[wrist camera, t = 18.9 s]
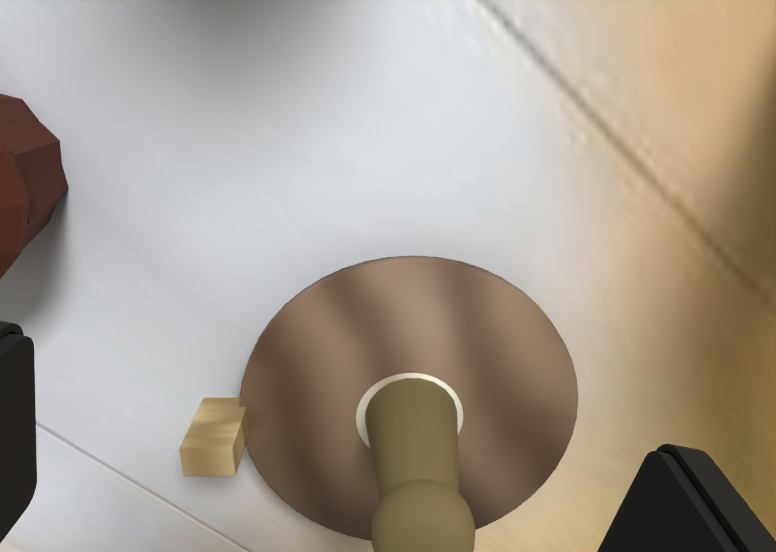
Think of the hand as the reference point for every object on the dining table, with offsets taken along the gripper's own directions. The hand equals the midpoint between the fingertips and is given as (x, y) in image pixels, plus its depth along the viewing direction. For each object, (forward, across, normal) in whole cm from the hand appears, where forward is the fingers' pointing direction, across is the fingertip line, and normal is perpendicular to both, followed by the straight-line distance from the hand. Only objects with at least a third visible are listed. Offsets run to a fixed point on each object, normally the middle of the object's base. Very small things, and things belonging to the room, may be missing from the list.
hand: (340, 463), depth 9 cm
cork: (+24, -6, +16) cm, 29 cm away
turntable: (+24, -6, +16) cm, 30 cm away
